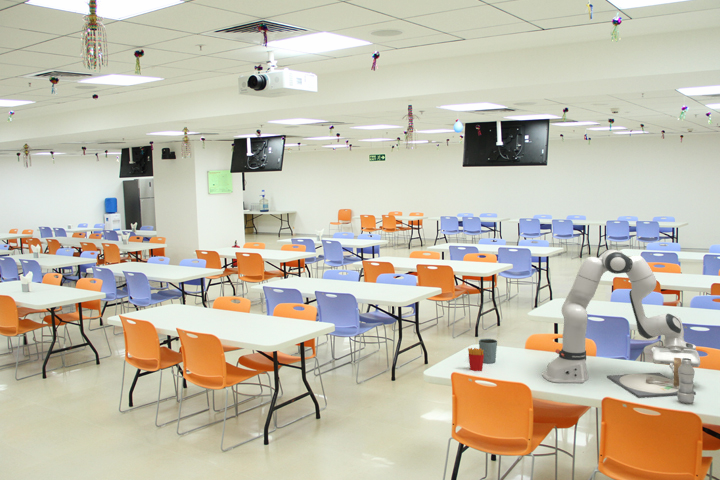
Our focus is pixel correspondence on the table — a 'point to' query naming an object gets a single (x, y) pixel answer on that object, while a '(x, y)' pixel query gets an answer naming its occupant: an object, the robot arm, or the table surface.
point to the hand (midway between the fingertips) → (676, 372)
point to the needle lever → (676, 377)
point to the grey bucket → (488, 350)
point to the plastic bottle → (686, 381)
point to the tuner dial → (645, 385)
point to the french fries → (476, 359)
